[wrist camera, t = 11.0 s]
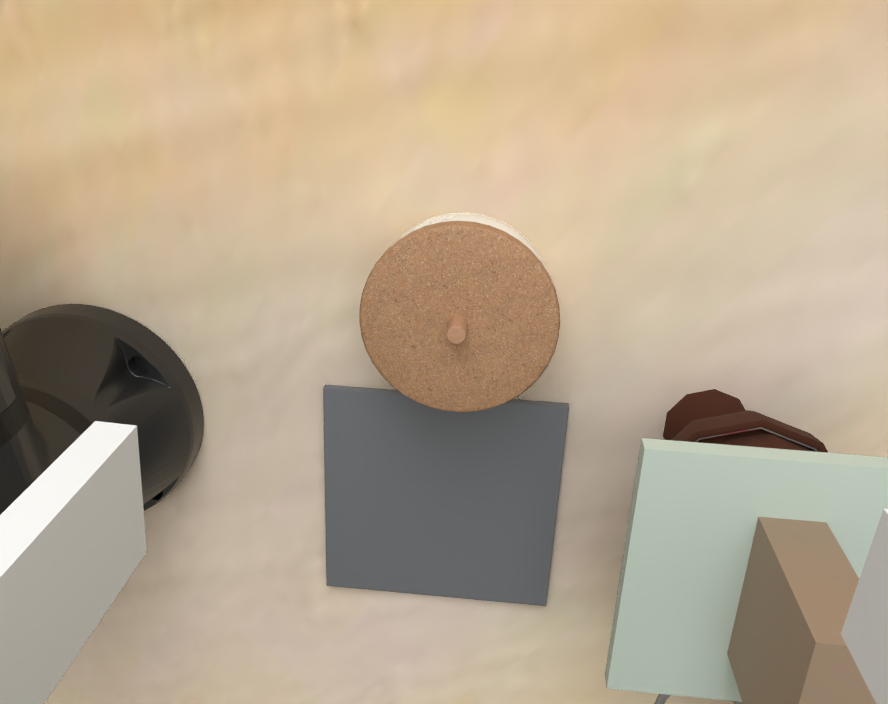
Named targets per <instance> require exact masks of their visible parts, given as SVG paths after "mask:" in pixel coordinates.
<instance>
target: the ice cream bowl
mask: <svg viewBox="0 0 888 704" xmlns="http://www.w3.org/2000/svg"><path fill="white" fill-rule="evenodd" d="M663 437H664V438H665V440H673V441H686V442H699V443H711V444H724V445H737V446H749V447H762V448H775V449H787V450H800V451H813V452H825V453H828V452H827V450H826V448H825V446H824V444H823V443H822V442H821V441H819V440H818V439H817V438H815V437H814V436H813V435H811V434H810V433H807V432H805V431H802V430H800V429H797V428H795V427H792V426H790V425H787V424H785V423H782V422H780V421H777V420H775V419H772V418H769V417H767V416H764V415H762V414H759V413H757V412H754V411H748V410H747V411H745V409H744V407H743V405H742V404H741V402H740V400H739V399H737V398H735V397H732V396H730V395H727V394H725V393H722V392H720V391H717V390H715V389H714V390H708V391H703V392H698V393H693V394H687V395H686V396H685V397H684V398H683V399H682V400H680V401H679V402H678V403H677V404H676V405H675V406H674V407H673V408H672V409H671V410H670V411H668V412H667V417H666V422H665V428H664V433H663Z"/></svg>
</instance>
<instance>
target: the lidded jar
mask: <svg viewBox="0 0 888 704" xmlns="http://www.w3.org/2000/svg"><path fill="white" fill-rule="evenodd" d="M360 327H361V334H362V338H363V341H364V344H365V348H366V350H367V352H368V354H369V356H370V358H371V360H372V362H373V364H374V365H375V367H376V368H377V369H378V371H379V372H380V374H381V375H382V376H383V377H384V378H385V379H386V380H387V381H388V382H389V383H390V384H391V385H392V386H393V387H394V388H396V389H397V390H398V391H399V392H401V393H402V394H403V395H405V396H407V397H409V398H410V399H412V400H414V401H416V402H418V403H421V404H423V405H426V406H428V407H431V408H435V409H440V410H444V411H453V412H473V411H480V410H485V409H490V408H493V407H496V406H499V405H501V404H504V403H506V402H508V401H510V400H512V399H514V398H516V397H517V396H519V395H520V394H521V393H523V392H524V391H525V390H527V389H528V388H529V387H530V386H531V385H532V384H533V383H534V382H535V381H536V380H537V379H538V378H539V377H540V376H541V374H542V373H543V371H544V370H545V369H546V367H547V366H548V364H549V362H550V360H551V358H552V356H553V354H554V351H555V348H556V344H557V341H558V336H559V328H560V314H559V303H558V299H557V295H556V290H555V288H554V285H553V283H552V279H551V276H550V274H549V271H548V269H547V266H546V264H545V263H544V261H543V259H542V258H541V256H540V254H539V253H538V251H537V250H536V248H535V247H534V246H533V245H532V244H531V243H530V241H529V240H528V239H527V238H526V237H525V236H523V235H522V234H521V233H520V232H519V231H517V230H516V229H515V228H513V227H511V226H510V225H508V224H506V223H505V222H503V221H500V220H498V219H496V218H493V217H491V216H487V215H482V214H478V213H468V212H459V213H447V214H443V215H439V216H435V217H432V218H430V219H427V220H425V221H422V222H420V223H419V224H417V225H415V226H414V227H412V228H411V229H409V230H408V231H406V232H405V233H404V234H403V235H402V236H400V237H399V238H398V239H397V240H396V241H395V242H394V243H393V244H392V245H391V247H390V248H389V249H388V250H387V251H386V252H385V253H384V254H383V255H382V257H381V258H380V259H379V260H378V262H377V263H376V265H375V266H374V268H373V270H372V272H371V273H370V275H369V277H368V279H367V282H366V284H365V287H364V290H363V293H362V298H361V304H360Z"/></svg>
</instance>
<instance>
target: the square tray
mask: <svg viewBox="0 0 888 704" xmlns="http://www.w3.org/2000/svg"><path fill="white" fill-rule="evenodd" d="M323 393H324V451H325V509H326V567H327V586H336V587H347V588H357V589H368V590H379V591H390V592H401V593H411V594H422V595H433V596H444V597H454V598H465V599H476V600H487V601H497V602H508V603H519V604H530V605H540V606H546V603H547V595H548V586H549V577H550V568H551V560H552V551H553V542H554V533H555V525H556V516H557V507H558V498H559V490H560V481H561V472H562V463H563V455H564V446H565V437H566V428H567V420H568V411H569V405H568V404H567V403H554V402H541V401H528V400H515V399H512V400H510V401H508V402H506V403H504V404H501V405H499V406H496V407H493V408H490V409H485V410H480V411H473V412H453V411H444V410H440V409H435V408H431V407H428V406H426V405H423V404H421V403H418V402H416V401H414V400H412V399H410V398H409V397H407V396H405V395H403V394H402V393H401V392H399V391H398V390H385V389H372V388H359V387H346V386H333V385H325V387H324V389H323Z"/></svg>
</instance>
